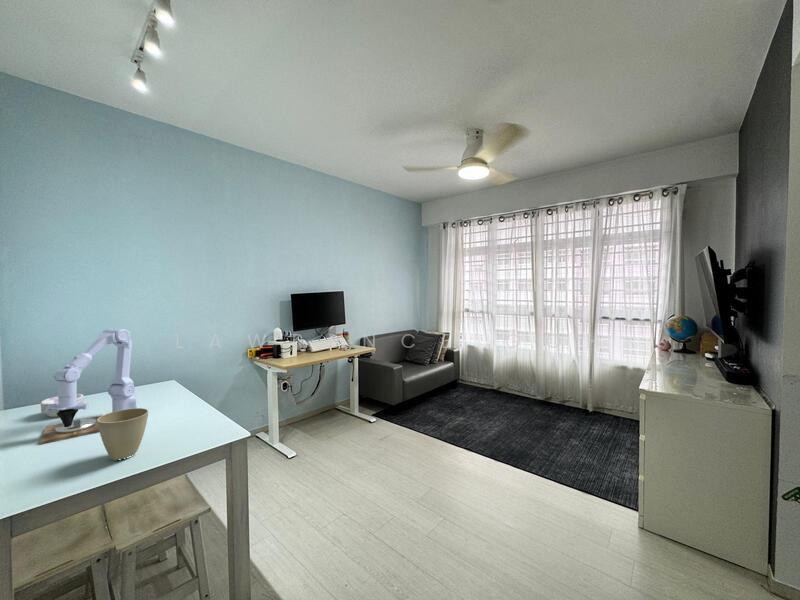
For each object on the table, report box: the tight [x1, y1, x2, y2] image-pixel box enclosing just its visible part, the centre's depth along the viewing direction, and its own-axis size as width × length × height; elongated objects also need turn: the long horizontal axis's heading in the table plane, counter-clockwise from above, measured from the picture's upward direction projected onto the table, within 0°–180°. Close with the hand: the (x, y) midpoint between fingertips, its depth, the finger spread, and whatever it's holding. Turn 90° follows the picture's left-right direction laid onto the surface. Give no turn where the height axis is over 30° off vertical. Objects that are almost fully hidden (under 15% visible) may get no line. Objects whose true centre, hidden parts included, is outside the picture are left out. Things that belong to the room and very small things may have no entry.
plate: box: [39, 415, 102, 446], centre depth 146 cm, size 20×20×1 cm
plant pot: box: [97, 407, 149, 461], centre depth 124 cm, size 15×15×16 cm
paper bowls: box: [40, 393, 85, 418], centre depth 165 cm, size 15×15×8 cm
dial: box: [55, 418, 96, 433], centre depth 146 cm, size 13×13×4 cm
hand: (68, 426), depth 142 cm, fingers closed
